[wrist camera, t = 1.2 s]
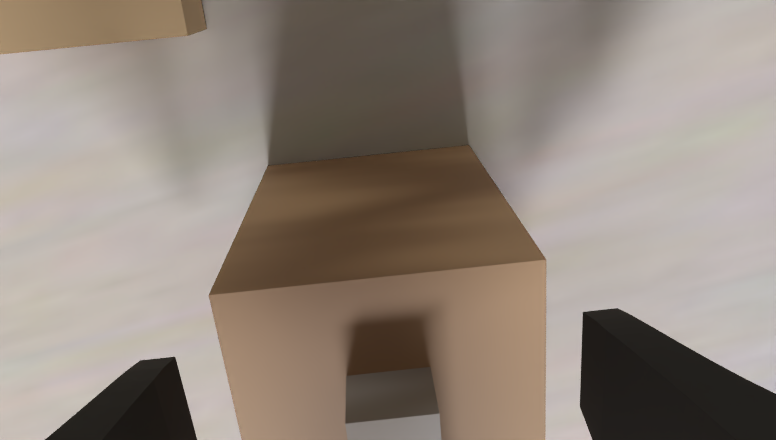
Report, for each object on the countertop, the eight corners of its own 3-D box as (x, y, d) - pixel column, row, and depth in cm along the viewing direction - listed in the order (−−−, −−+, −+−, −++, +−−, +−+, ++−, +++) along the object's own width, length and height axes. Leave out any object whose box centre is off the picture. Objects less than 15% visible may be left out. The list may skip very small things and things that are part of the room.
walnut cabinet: (468, 144, 14) (570, 296, 7) (478, 367, 16) (563, 636, 9) (267, 164, 14) (189, 337, 7) (306, 385, 16) (272, 669, 9)
